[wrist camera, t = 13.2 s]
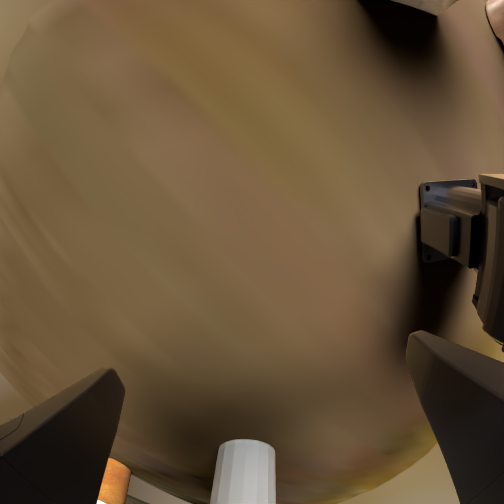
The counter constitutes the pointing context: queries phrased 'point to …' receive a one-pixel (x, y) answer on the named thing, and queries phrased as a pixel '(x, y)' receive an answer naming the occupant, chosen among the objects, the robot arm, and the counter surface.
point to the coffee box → (429, 5)
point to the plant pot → (496, 17)
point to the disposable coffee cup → (114, 483)
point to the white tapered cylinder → (244, 473)
